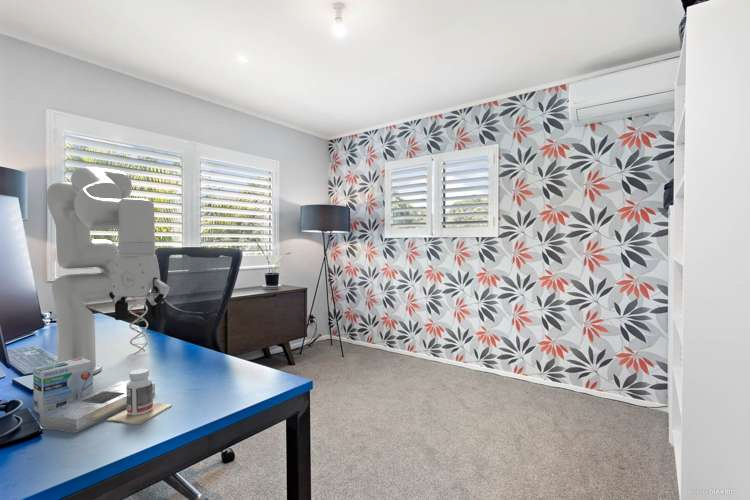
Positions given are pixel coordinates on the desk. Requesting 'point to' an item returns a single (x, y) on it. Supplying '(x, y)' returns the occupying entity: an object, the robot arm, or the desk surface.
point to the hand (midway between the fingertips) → (138, 319)
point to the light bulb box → (61, 383)
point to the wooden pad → (139, 419)
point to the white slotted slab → (87, 409)
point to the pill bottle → (139, 393)
